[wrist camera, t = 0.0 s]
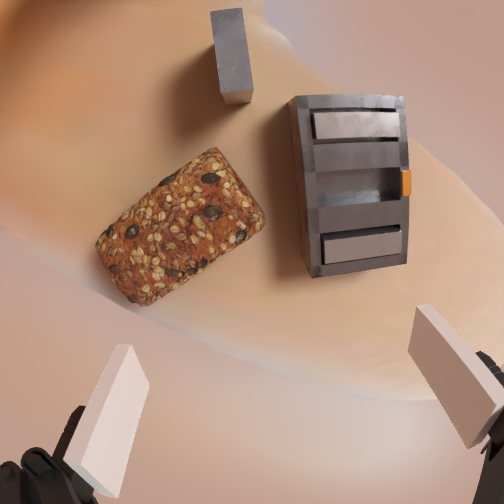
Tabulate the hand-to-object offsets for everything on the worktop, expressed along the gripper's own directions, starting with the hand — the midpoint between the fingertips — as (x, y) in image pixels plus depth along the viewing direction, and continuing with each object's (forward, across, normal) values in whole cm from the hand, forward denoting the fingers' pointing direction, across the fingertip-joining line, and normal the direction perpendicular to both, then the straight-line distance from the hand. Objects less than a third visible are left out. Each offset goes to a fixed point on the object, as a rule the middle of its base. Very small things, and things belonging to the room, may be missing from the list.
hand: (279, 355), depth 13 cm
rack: (+28, +12, +3) cm, 31 cm away
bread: (+28, -9, 0) cm, 30 cm away
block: (+28, 0, +18) cm, 33 cm away
